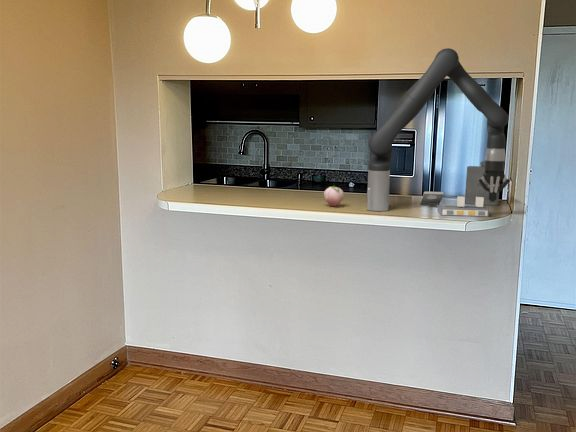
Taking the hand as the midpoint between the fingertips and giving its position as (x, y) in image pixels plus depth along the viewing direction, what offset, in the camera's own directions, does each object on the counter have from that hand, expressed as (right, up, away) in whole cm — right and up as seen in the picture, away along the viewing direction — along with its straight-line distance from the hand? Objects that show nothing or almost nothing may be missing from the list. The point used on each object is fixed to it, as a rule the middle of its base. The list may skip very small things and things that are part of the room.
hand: (492, 201), depth 235 cm
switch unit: (-12, -5, +2) cm, 13 cm away
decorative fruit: (-64, -2, +18) cm, 67 cm away
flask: (+5, -1, +29) cm, 30 cm away
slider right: (-5, -2, +1) cm, 6 cm away
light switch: (-20, -2, +20) cm, 29 cm away
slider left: (-13, -2, +2) cm, 13 cm away
